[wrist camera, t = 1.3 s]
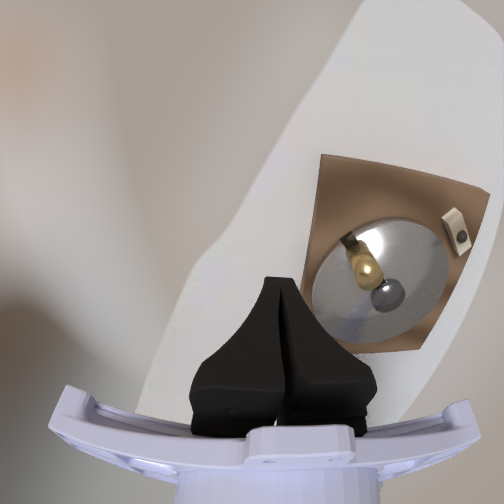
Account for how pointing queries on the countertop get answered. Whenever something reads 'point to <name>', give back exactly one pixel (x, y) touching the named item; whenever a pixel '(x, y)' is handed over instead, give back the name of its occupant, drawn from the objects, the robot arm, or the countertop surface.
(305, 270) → the stand
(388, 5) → the countertop surface
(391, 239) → the cam dial
